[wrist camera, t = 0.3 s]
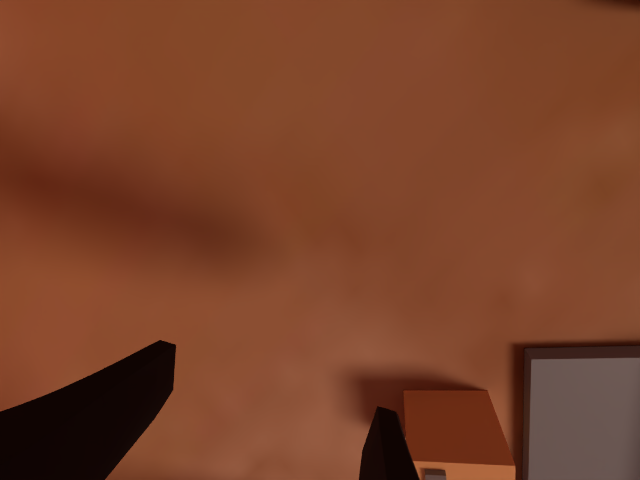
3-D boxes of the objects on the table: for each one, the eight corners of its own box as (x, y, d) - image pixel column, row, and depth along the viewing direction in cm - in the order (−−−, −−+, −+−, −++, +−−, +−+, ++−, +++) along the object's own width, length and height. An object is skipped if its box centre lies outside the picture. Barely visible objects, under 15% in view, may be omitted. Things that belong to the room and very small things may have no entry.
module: (488, 440, 22) (517, 531, 17) (408, 437, 23) (414, 522, 18) (486, 389, 21) (517, 471, 16) (403, 389, 22) (407, 466, 17)
